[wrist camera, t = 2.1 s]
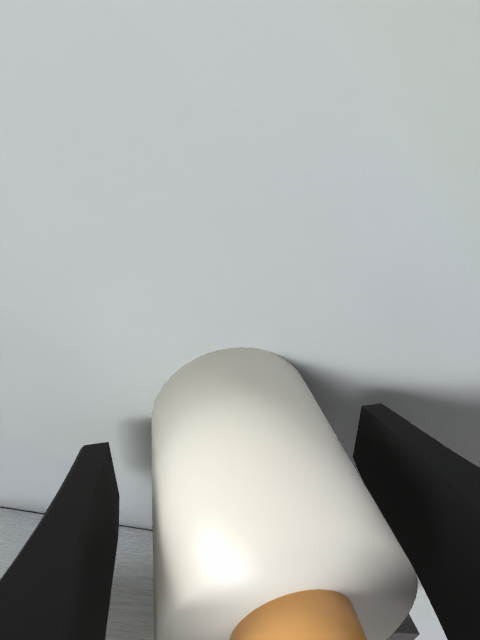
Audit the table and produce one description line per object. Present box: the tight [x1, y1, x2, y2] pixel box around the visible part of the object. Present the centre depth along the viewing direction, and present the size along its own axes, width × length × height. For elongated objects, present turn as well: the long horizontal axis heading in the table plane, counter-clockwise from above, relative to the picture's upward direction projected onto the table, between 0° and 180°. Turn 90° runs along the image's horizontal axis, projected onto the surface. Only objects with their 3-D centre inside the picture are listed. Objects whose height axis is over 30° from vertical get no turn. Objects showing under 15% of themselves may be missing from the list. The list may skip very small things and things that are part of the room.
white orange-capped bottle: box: [151, 347, 417, 640], centre depth 10 cm, size 5×5×7 cm
